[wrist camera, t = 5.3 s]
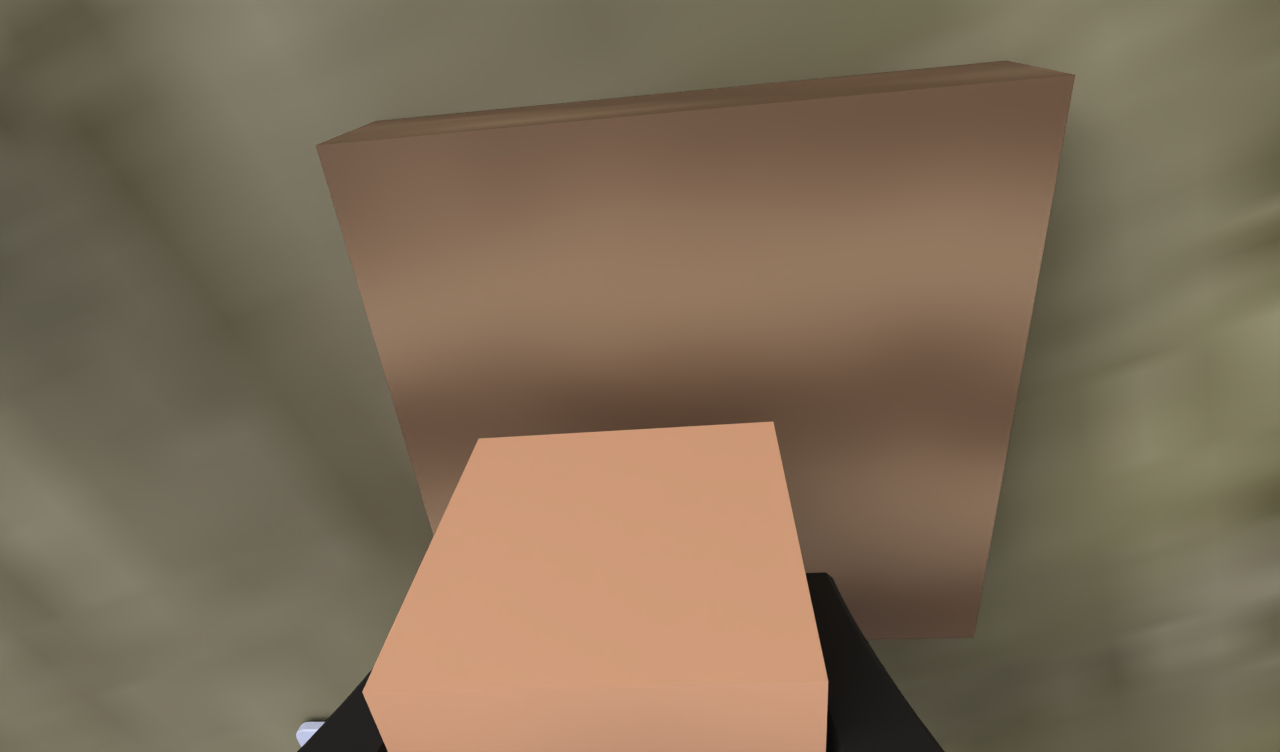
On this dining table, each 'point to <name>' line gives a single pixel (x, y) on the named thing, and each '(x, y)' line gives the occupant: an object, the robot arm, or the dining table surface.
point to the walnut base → (732, 294)
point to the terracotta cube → (610, 603)
